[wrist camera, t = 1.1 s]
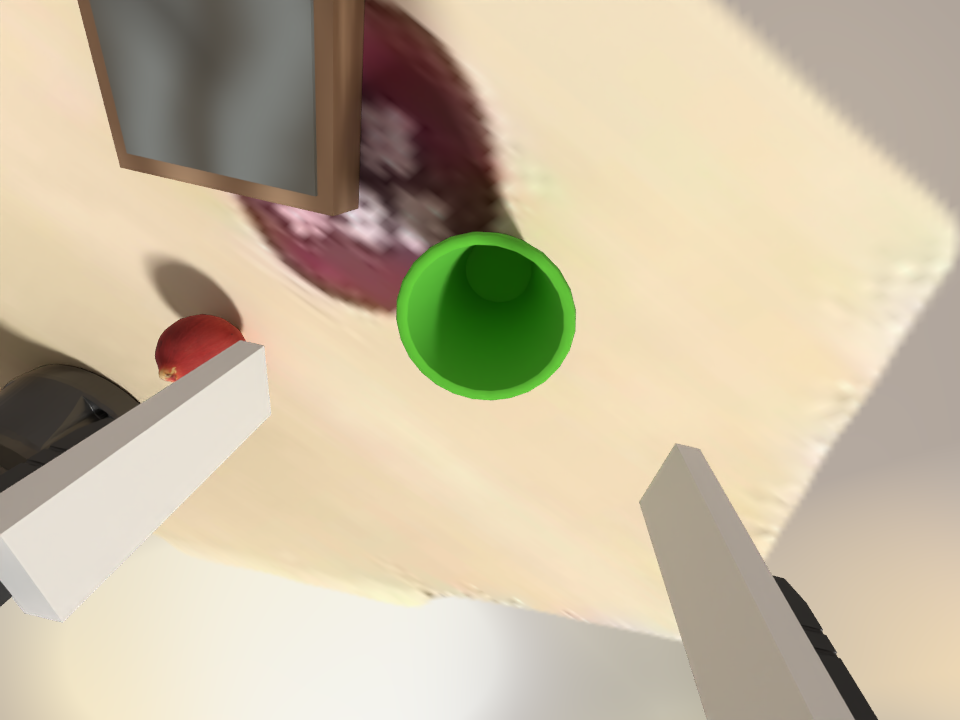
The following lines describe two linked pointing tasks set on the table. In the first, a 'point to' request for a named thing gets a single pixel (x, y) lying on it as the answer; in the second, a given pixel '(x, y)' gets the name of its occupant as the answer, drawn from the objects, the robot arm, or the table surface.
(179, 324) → the onion
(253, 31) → the flat stove
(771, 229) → the table surface
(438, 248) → the cup
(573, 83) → the table surface
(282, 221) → the table surface
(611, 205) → the table surface
